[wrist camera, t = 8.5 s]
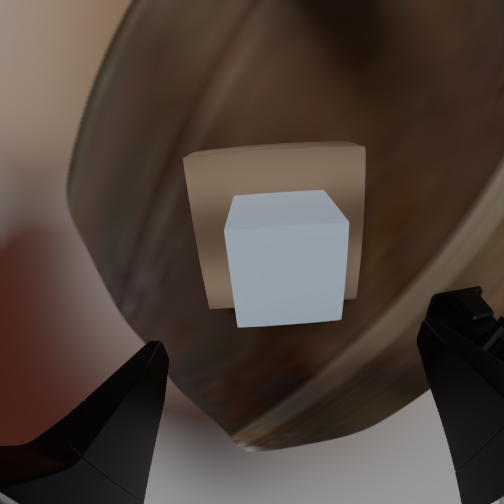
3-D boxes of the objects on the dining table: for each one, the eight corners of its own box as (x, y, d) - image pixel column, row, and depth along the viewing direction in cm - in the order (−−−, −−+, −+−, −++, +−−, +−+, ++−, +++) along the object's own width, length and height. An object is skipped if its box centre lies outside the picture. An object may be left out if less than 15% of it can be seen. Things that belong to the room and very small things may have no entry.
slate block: (322, 268, 18) (341, 319, 13) (242, 273, 18) (237, 327, 14) (323, 190, 16) (349, 222, 11) (233, 195, 16) (223, 230, 12)
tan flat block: (345, 275, 22) (356, 298, 19) (215, 284, 22) (209, 308, 20) (349, 141, 17) (365, 147, 14) (194, 151, 18) (183, 158, 15)
